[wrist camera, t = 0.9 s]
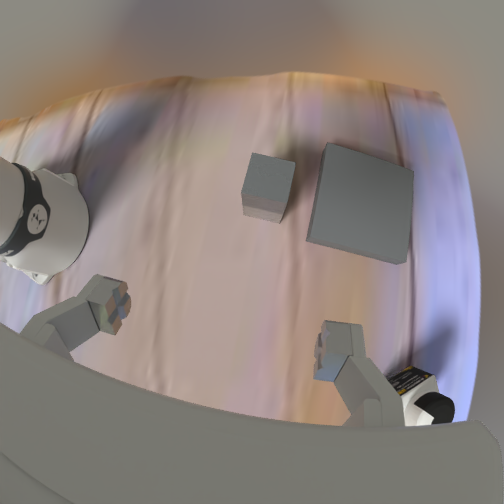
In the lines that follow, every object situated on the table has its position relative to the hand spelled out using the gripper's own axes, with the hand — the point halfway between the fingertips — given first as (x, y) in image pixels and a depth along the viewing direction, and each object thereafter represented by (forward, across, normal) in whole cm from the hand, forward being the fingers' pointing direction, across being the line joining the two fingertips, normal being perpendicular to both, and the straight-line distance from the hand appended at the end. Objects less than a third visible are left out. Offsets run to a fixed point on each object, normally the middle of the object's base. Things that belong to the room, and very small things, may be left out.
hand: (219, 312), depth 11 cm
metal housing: (+29, +1, +9) cm, 30 cm away
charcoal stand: (+31, -13, +8) cm, 35 cm away
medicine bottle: (+14, -24, +28) cm, 39 cm away
